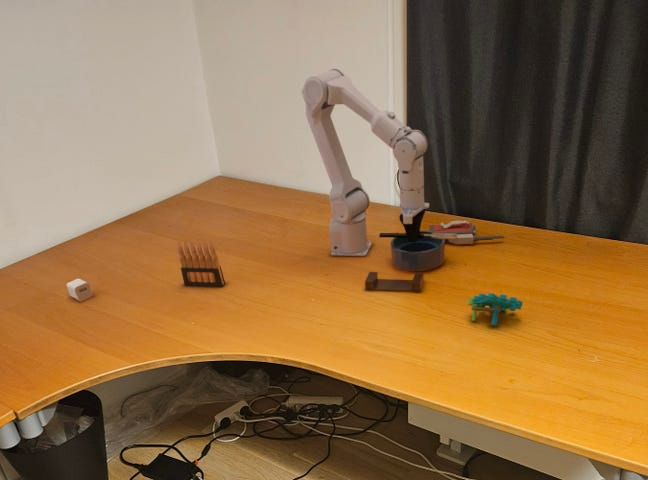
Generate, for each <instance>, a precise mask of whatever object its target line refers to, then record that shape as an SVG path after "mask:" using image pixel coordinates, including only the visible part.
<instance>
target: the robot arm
mask: <svg viewBox="0 0 648 480" xmlns="http://www.w3.org/2000/svg"><path fill="white" fill-rule="evenodd" d="M301 95H302V98H303V100H304V103H305V116H306V119H307V122H308V124H309V128H310V130H311V133H312V135H313V139H314V141H315V144H316V147H317V149H318V151H319V154H320V157H321V159H322V162H323V165H324V167H325V170H326V173H327V175H328V178H329V181H330V184H331V189H330V192H329V195H328V200H329V203H330V212H331V215H332V218H331V219H330V221H329V230H328V232H329V240H330V250H331V253H330V255H331V256H335V257H337V256H338V257H339V256H340V257H343V256H344V257H348V256H349V257H366V256H367V254H368V253H369V251H370V249H371V247H372V244H373V243H372V241H368V233H367V220H366V215H367V210H368V208H369V206H370V202H371V200H370V197H369V194H368V192H367V191H366V190H365V189H364V188H363V186H362V182H360V180H358V179H355V178H354V177H353V175H352V172H351V169H350V166H349V164H348V161H347V158H346V156H345V153H344V150H343V147H342V144H341V142H340V139H339V135H338V133H337V130H336V127H335V124H334V122H333V120H332V117H331V116H332V113H333V110H334V109H335V106H336V105H344V106H346V107H347V108H349V109H350V110H351V111H352V112H354V113H355V114H356V115H357V116H359V117H361V118H362V119H363V120H365V121H366V122H368V123H369V124H370V129H371V133H372V134H374V135H375V136H376V137H377V138H378V139H380V140H381V141H382V142H383V143H384V144H386V146H388V147H389V148H391V150H392V155H393V157H394V158H395V160H396V161H397V168H398V182H399V200H400V201H399V210H400V212H401V213H400V214H399V217H398V218H399V221H400V223H401V224H402V226H403V228H404V231H405V232H406V235H407V239H408V242H417V240H418V235H419V233H420V231H421V226H422V221H423V219H424V216H425V214H426V210H427V209H429V208H430V203H429V202H425V171H424V170H425V169H424V154H425V153H426V151H427V149H428V146H429V145H428V139H427V137H426V135H425V134H424V133H423V131H422V130H419V129H412V128H411V127H410V126H407V125H405V123H403V122H402V121H401V120H400V119H398V118H397V117H396V113H394V112H393V111H389V110H382V111H381V110H379V108H378V107H376V106H375V105H374V104H373V103H372V102H371V101H370V100H369V99H368V98H367V97H366V96H365V95H364V94H363V93H362V92H361V91H360V90H359V89H358V88H357V87H356V86H355V85H354V84H353V82H352V80H351V77H350V76H347V75H346V74H344V72H343V71H342V70H341V69H338V68H331V69H329V70H328V71H324V72H322V73H320V74H319V73H318V74H317V75H311V76H309V77H308V78H307V79H306V80H305V82H304V84H303V87H302V89H301Z"/></svg>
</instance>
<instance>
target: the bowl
mask: <svg viewBox="0 0 648 480" xmlns="http://www.w3.org/2000/svg"><path fill="white" fill-rule="evenodd" d="M404 233H406V231H405V232H404ZM420 233H424V234H432V233H435V232H431V231H430V230H420ZM390 258H391V260H390V261H391V263H392V265H393V266H394V267H395V268H397V269H399V270H403V271H408V272H423V271H424V272H425V271H429V270H433V269H436V268H437V267H440V266H441V265H442V264H443V263H444V262H445V259H446V243H445V239H431V238H418V240H417V242H408V239H407V238H391V240H390Z"/></svg>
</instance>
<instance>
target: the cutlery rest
mask: <svg viewBox="0 0 648 480" xmlns="http://www.w3.org/2000/svg"><path fill="white" fill-rule="evenodd" d="M378 274H379V273H378V271H369V272H368V274H367V276H366V278H365V281H364V284H365V285H364V286H365V287H364V288H365V291H368V292H369V291H372V292H373V291H374V292H375V291H376V292H397V293H398V292H399V293H402V292H403V293H421V292H422V289H423V285H424V281H425V280H424V278H425V277H424V273H423V272H415V273H414V275H413V278H412V279H388V278H387V279H385V278H379V275H378Z"/></svg>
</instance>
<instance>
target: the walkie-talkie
mask: <svg viewBox="0 0 648 480" xmlns="http://www.w3.org/2000/svg"><path fill="white" fill-rule="evenodd" d="M476 229H477V228H476V225H473V222H469V221H468V220H467V219H463V220H451V221H450V222H448V223H445V224H444V222H440V224H430V225H429V231H431V232H435V233H451V234H457V238H456V239H445V244H448V243H449V244H454V245H474V242H478V241H493V240H498V239H505V236H504V235H503V234H502V235H482V236H481V235H480V236H478V235H476V233H477V232H476V231H477V230H476Z"/></svg>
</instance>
